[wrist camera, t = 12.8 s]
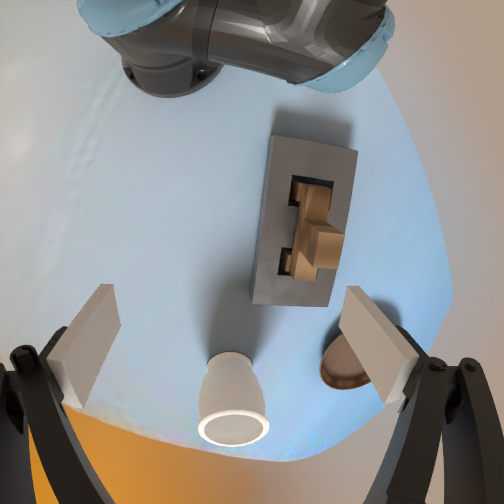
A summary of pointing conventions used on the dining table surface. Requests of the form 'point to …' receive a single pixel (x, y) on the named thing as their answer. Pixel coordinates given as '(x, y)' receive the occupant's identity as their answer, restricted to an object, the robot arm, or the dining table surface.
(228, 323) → the dining table surface
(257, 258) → the grey slotted base block
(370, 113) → the dining table surface
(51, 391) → the robot arm
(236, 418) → the jar
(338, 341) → the plant saucer
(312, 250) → the brown wooden branched block
